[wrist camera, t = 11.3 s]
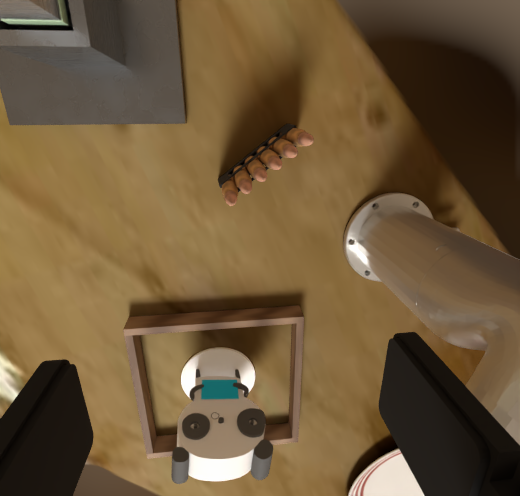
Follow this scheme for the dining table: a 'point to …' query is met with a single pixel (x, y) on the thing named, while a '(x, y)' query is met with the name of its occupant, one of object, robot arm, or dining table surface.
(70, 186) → the dining table surface
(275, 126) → the dining table surface
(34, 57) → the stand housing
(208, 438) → the panda figurine
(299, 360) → the frame
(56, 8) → the column
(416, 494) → the dinner plate
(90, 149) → the dining table surface
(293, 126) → the ammunition clip
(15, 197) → the dining table surface
